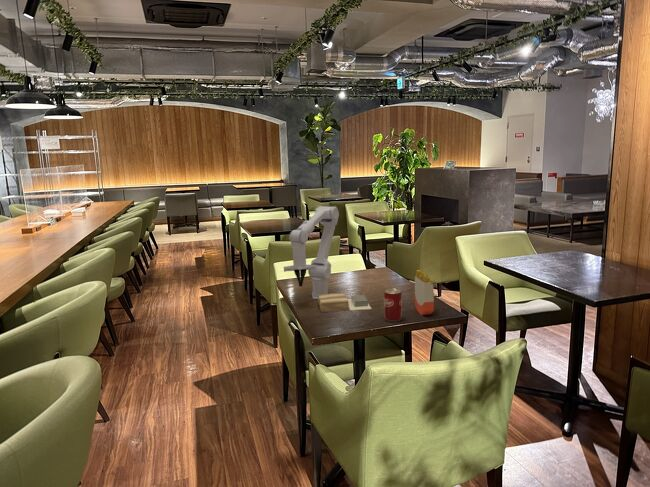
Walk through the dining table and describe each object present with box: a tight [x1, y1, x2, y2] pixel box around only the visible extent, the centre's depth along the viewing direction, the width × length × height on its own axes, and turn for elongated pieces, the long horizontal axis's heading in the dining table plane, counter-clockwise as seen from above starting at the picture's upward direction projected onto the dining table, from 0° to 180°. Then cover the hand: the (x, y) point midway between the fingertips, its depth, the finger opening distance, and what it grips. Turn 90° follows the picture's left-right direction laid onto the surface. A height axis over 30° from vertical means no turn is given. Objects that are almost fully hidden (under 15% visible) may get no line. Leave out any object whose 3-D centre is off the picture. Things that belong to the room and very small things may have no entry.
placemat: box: [347, 298, 372, 312], centre depth 222 cm, size 16×10×1 cm, turn 7°
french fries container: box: [414, 269, 435, 316], centre depth 206 cm, size 5×11×18 cm, turn 11°
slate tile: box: [350, 294, 369, 307], centre depth 221 cm, size 9×6×2 cm, turn 7°
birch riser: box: [317, 292, 350, 313], centre depth 220 cm, size 14×12×4 cm
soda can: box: [383, 288, 403, 323], centre depth 200 cm, size 7×7×12 cm
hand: (300, 285), depth 221 cm, fingers closed
